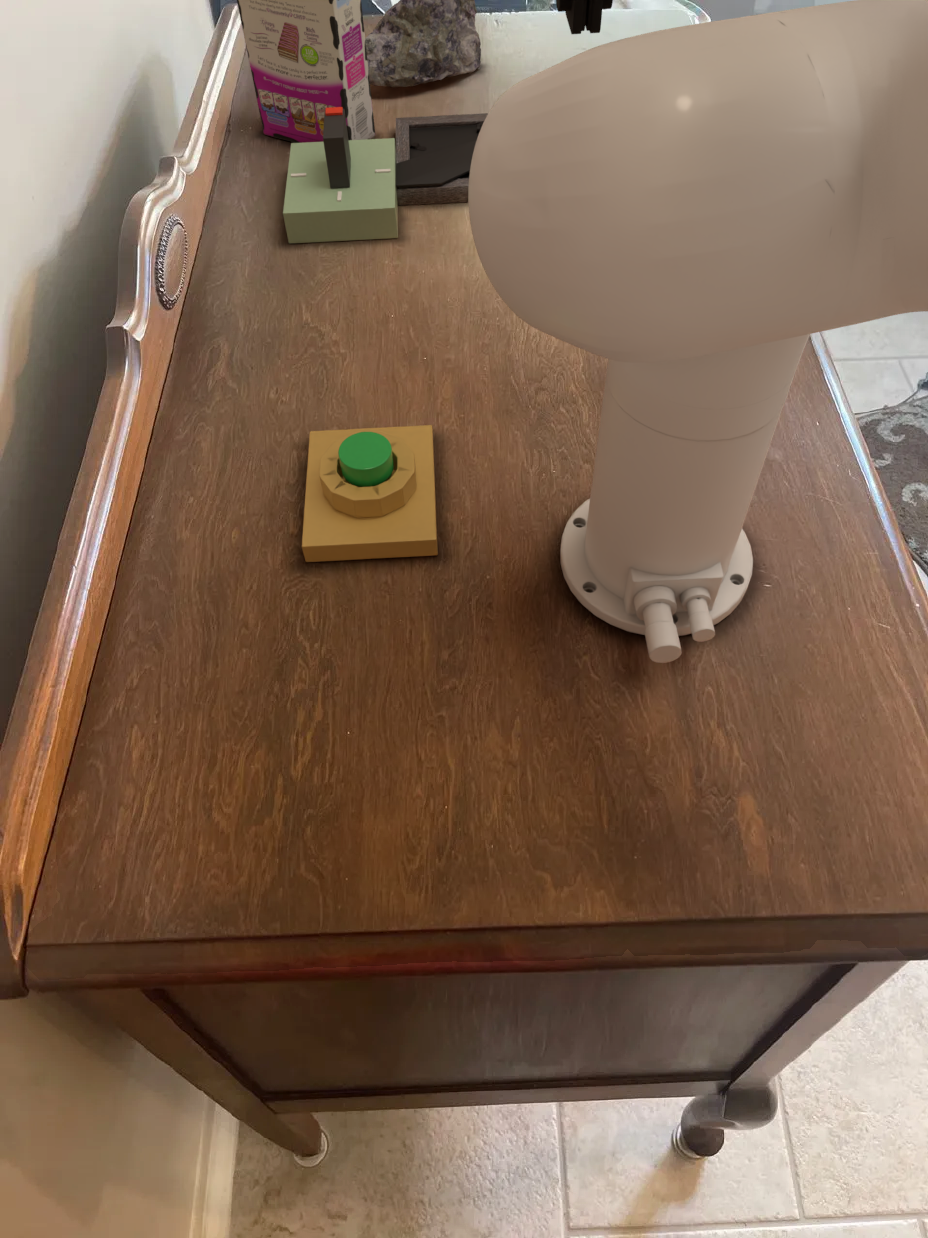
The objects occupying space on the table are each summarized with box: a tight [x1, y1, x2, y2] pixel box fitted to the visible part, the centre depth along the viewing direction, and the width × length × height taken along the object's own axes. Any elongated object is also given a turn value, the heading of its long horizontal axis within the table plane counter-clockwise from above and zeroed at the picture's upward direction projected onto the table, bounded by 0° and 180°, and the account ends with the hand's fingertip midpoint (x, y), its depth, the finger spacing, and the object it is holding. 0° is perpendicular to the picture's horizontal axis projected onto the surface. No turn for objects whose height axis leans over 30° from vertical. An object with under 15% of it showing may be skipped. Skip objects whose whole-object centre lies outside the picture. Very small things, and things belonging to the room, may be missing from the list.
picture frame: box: [395, 112, 489, 206], centre depth 90 cm, size 13×2×18 cm
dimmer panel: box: [282, 137, 399, 244], centre depth 86 cm, size 12×10×3 cm
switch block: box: [301, 424, 439, 563], centre depth 64 cm, size 11×9×4 cm
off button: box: [338, 432, 394, 487], centre depth 62 cm, size 4×4×2 cm
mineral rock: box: [365, 0, 482, 88], centre depth 98 cm, size 13×11×10 cm
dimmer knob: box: [323, 107, 351, 188], centre depth 83 cm, size 5×2×5 cm, turn 3°
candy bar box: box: [236, 0, 376, 143], centre depth 88 cm, size 11×5×16 cm, turn 62°
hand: (582, 22), depth 53 cm, fingers closed
